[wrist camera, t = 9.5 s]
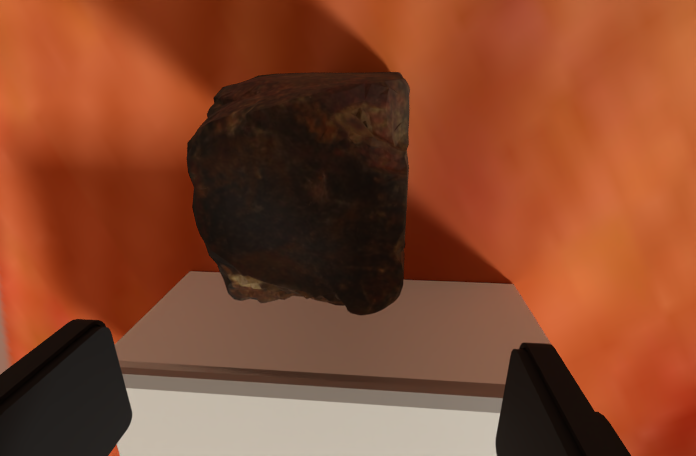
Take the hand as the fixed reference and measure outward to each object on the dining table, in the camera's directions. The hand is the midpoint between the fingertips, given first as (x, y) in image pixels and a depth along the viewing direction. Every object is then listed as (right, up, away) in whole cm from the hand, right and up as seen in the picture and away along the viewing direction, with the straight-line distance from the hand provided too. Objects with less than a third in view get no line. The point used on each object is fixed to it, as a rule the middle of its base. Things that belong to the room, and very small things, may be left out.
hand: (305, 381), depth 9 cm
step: (+1, -3, +11) cm, 12 cm away
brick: (+1, +3, +4) cm, 5 cm away
